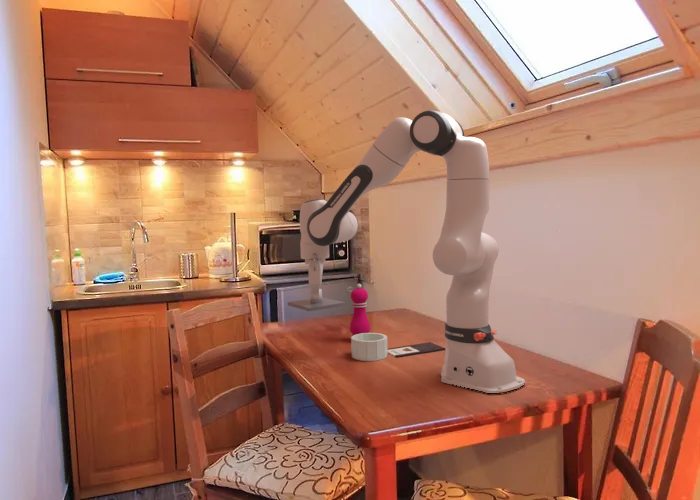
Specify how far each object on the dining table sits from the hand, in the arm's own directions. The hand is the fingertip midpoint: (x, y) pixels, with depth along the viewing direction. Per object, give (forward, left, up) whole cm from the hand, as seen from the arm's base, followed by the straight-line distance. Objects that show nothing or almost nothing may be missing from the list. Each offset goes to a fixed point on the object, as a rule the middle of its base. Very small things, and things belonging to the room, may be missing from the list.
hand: (316, 297), depth 163 cm
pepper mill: (+7, -22, -19) cm, 30 cm away
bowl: (-10, -13, -19) cm, 25 cm away
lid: (0, 0, -3) cm, 3 cm away
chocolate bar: (-14, -28, -20) cm, 37 cm away
